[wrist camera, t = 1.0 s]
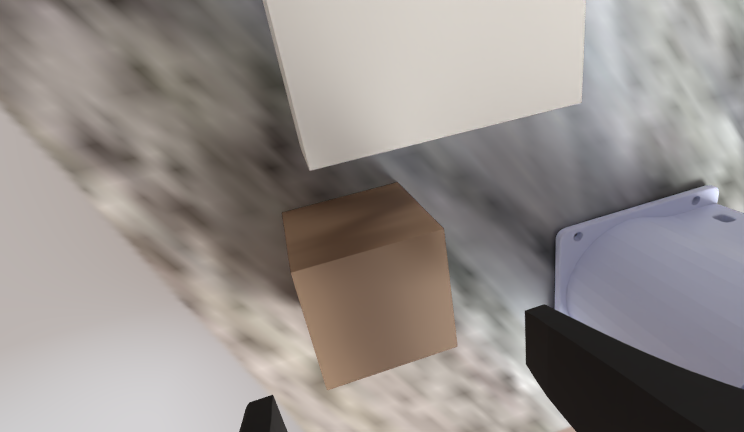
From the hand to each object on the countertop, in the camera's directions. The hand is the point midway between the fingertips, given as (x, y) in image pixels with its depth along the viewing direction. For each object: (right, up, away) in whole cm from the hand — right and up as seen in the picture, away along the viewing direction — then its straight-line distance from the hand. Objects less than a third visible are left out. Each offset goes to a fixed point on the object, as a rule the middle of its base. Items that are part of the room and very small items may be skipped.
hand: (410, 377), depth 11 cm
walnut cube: (-2, +3, +7) cm, 8 cm away
